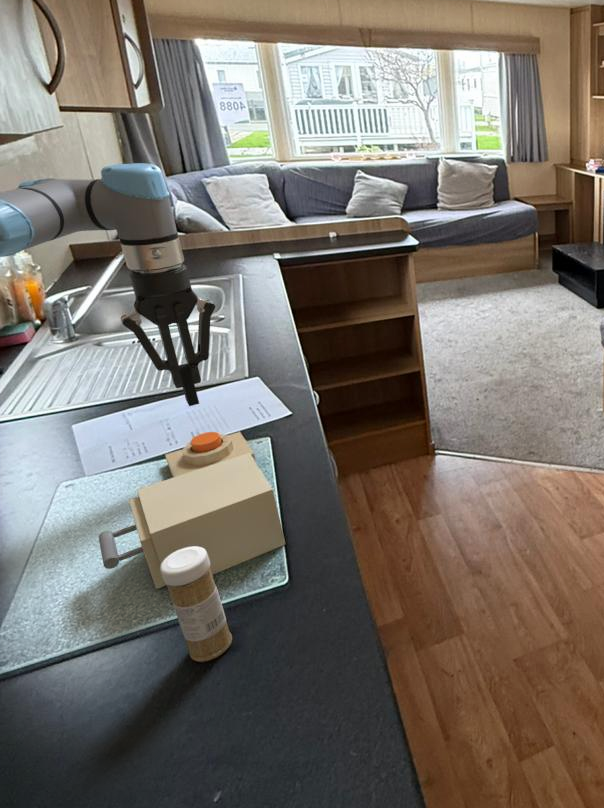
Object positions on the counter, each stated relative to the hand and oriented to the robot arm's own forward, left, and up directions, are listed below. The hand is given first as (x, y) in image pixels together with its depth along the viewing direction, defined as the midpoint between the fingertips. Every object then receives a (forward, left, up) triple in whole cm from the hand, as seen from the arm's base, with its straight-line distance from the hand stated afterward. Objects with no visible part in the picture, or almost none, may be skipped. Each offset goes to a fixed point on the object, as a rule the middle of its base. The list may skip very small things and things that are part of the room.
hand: (192, 402), depth 109 cm
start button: (0, 0, -9) cm, 9 cm away
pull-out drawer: (+9, -24, -11) cm, 28 cm away
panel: (0, 0, -12) cm, 12 cm away
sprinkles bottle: (+19, -41, -13) cm, 47 cm away
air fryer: (+12, -22, -12) cm, 28 cm away
